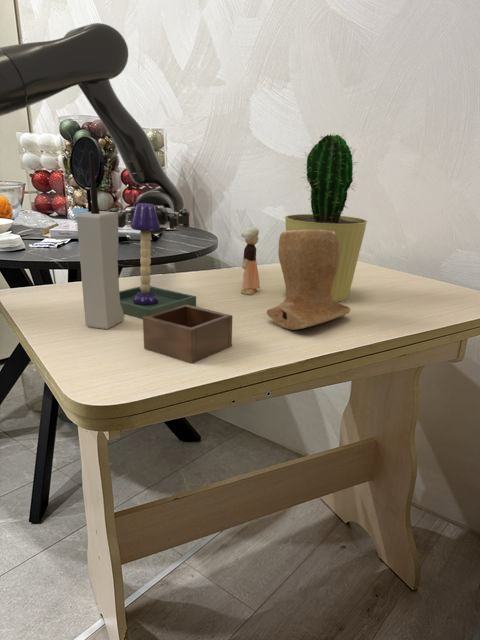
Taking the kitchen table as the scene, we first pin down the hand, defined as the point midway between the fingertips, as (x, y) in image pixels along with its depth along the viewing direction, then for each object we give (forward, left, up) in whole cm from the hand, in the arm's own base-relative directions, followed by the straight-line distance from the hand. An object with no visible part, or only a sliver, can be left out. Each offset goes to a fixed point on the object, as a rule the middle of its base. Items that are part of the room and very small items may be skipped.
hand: (146, 222), depth 88 cm
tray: (+1, -2, -14) cm, 14 cm away
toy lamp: (+1, -1, -14) cm, 14 cm away
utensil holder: (+4, -13, -14) cm, 20 cm away
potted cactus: (+20, +26, -14) cm, 36 cm away
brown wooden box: (+20, -13, -14) cm, 28 cm away
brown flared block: (+26, +9, -14) cm, 31 cm away
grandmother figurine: (+8, +19, -14) cm, 26 cm away
